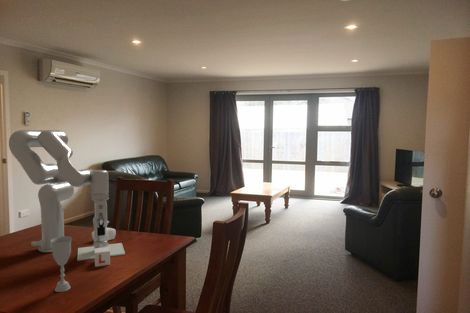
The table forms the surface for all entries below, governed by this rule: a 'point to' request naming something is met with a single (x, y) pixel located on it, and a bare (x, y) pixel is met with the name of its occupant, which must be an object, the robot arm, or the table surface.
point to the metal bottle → (99, 240)
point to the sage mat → (89, 252)
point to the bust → (108, 233)
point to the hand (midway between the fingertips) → (100, 232)
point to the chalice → (61, 258)
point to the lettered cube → (102, 256)
